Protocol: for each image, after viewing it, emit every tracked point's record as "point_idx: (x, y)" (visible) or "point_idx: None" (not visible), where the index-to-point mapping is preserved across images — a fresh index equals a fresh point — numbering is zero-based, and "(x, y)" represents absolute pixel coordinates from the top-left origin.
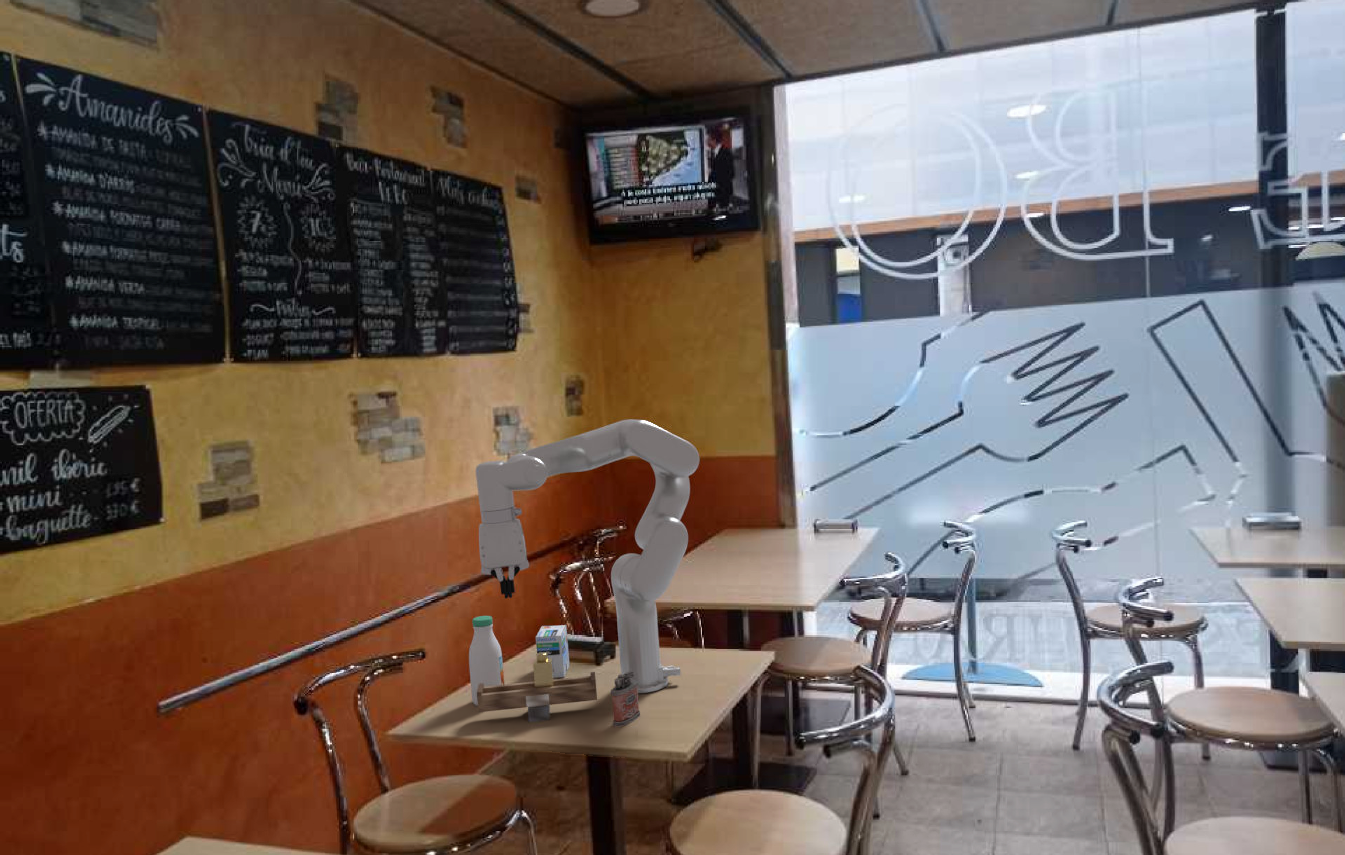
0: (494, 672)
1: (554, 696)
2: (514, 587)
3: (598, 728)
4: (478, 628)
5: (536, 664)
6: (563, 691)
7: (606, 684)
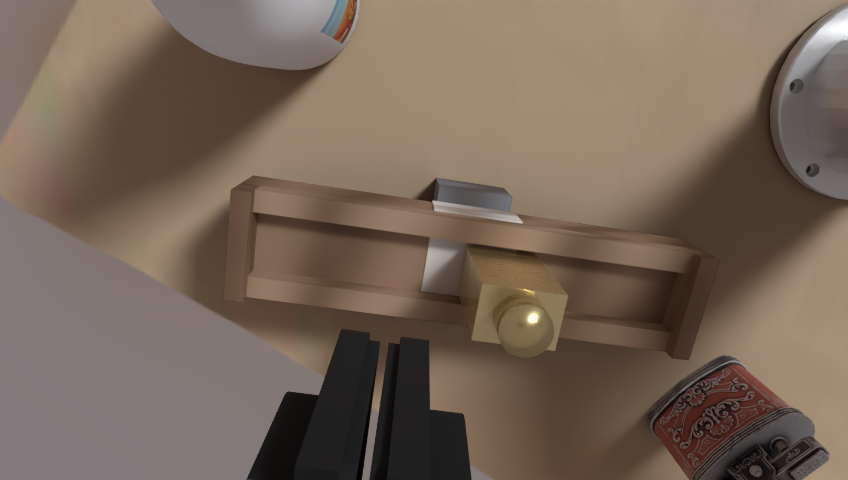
0: (303, 60)
1: None
2: (465, 437)
3: (600, 424)
4: None
5: (485, 340)
6: None
7: (758, 16)
